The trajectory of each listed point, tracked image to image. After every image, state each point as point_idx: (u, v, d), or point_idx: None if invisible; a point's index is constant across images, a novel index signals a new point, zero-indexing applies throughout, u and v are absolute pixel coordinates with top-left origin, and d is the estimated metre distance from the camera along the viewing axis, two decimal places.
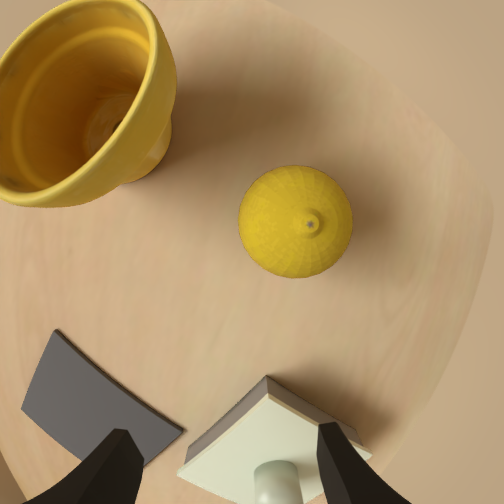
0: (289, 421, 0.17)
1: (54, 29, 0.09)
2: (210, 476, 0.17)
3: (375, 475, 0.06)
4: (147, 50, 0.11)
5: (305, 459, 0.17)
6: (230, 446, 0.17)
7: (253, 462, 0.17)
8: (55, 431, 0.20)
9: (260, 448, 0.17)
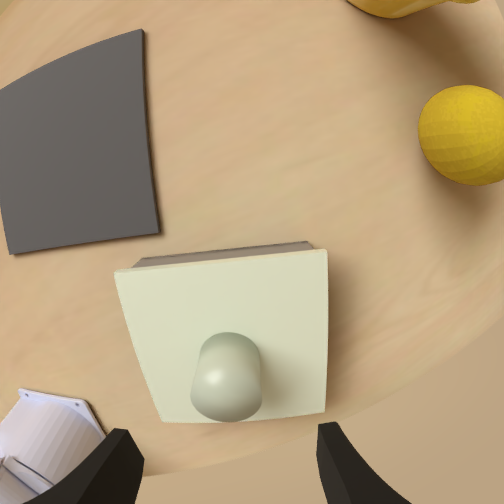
0: (315, 298, 0.15)
1: None
2: (154, 305, 0.15)
3: (375, 475, 0.06)
4: None
5: (275, 363, 0.16)
6: (226, 279, 0.14)
7: (224, 322, 0.15)
8: (7, 138, 0.15)
9: (253, 308, 0.15)
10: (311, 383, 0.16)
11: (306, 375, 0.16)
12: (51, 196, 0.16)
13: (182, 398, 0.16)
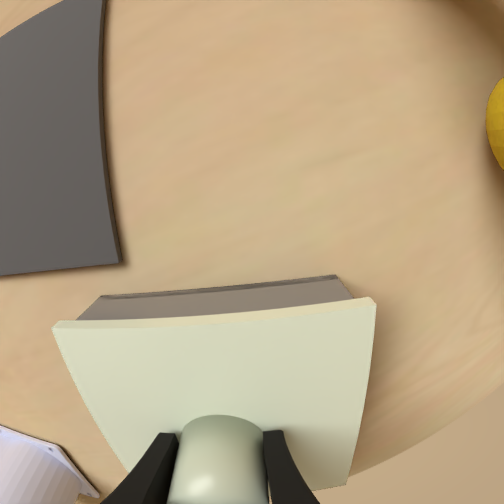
0: (351, 370, 0.09)
1: None
2: (110, 375, 0.09)
3: (306, 490, 0.06)
4: None
5: None
6: (214, 349, 0.09)
7: (214, 404, 0.09)
8: None
9: (257, 387, 0.09)
10: (332, 462, 0.10)
11: (328, 455, 0.10)
12: None
13: None
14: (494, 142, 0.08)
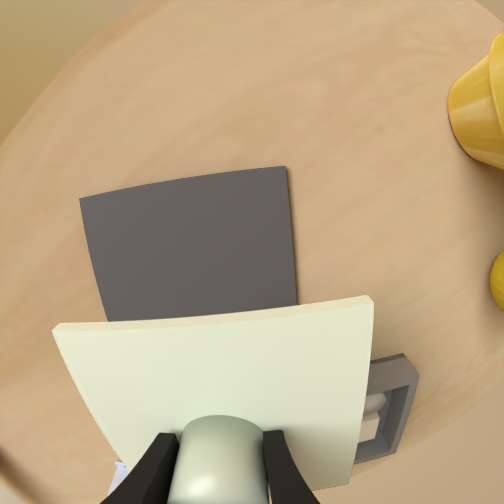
0: (350, 369, 0.09)
1: None
2: (110, 377, 0.09)
3: (306, 490, 0.06)
4: None
5: (288, 446, 0.10)
6: (211, 349, 0.09)
7: (214, 404, 0.09)
8: (112, 262, 0.18)
9: (256, 387, 0.09)
10: (334, 461, 0.10)
11: (329, 454, 0.10)
12: None
13: None
14: (491, 288, 0.17)
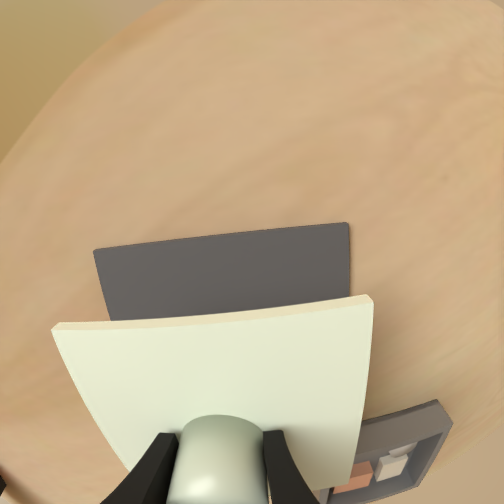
0: (349, 369, 0.09)
1: None
2: (110, 376, 0.09)
3: (306, 490, 0.06)
4: None
5: (288, 445, 0.10)
6: (211, 348, 0.09)
7: (213, 403, 0.09)
8: None
9: (255, 387, 0.09)
10: (334, 461, 0.10)
11: (329, 454, 0.10)
12: None
13: None
14: None
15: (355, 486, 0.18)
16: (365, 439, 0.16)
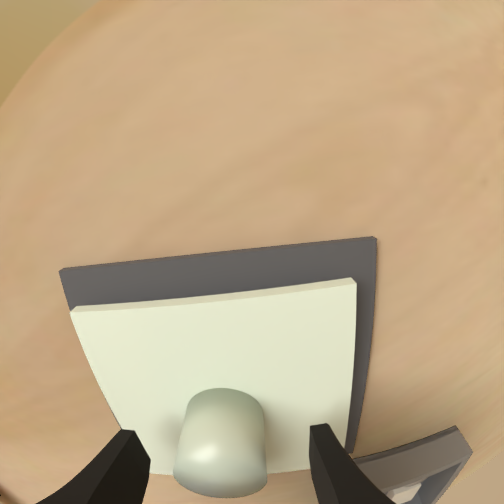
0: (337, 344, 0.10)
1: None
2: (123, 354, 0.10)
3: (365, 478, 0.06)
4: None
5: (284, 419, 0.11)
6: (215, 324, 0.10)
7: (216, 377, 0.11)
8: None
9: (253, 360, 0.10)
10: None
11: None
12: None
13: (170, 453, 0.12)
14: None
15: None
16: (379, 475, 0.13)
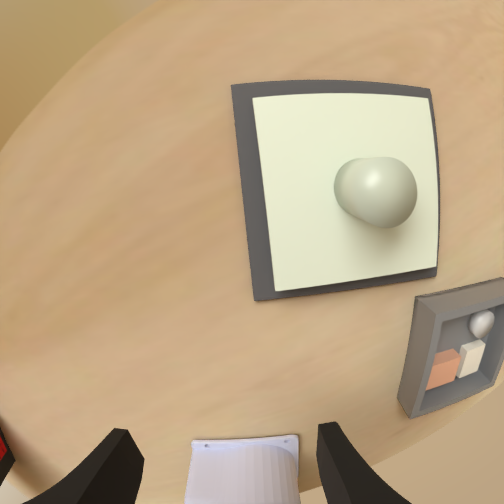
0: (424, 134, 0.14)
1: None
2: (293, 128, 0.14)
3: (375, 475, 0.06)
4: None
5: None
6: (359, 107, 0.14)
7: (358, 148, 0.15)
8: None
9: (381, 136, 0.15)
10: (426, 225, 0.16)
11: (423, 214, 0.16)
12: None
13: (307, 247, 0.16)
14: None
15: (444, 379, 0.19)
16: (460, 299, 0.17)
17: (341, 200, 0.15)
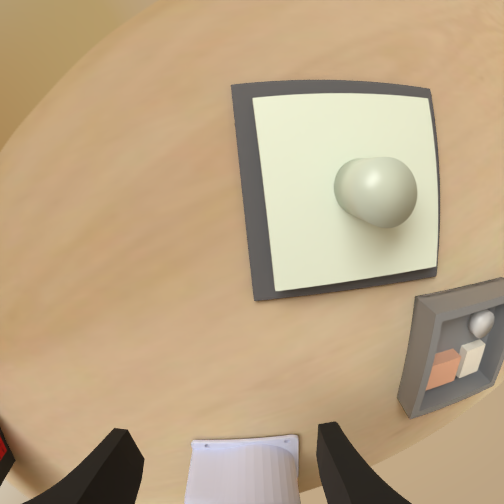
0: (424, 134, 0.14)
1: None
2: (293, 128, 0.14)
3: (375, 475, 0.06)
4: None
5: None
6: (359, 107, 0.14)
7: (358, 148, 0.15)
8: None
9: (381, 136, 0.15)
10: (426, 225, 0.16)
11: (423, 214, 0.16)
12: None
13: (307, 247, 0.16)
14: None
15: (444, 379, 0.19)
16: (460, 299, 0.17)
17: (341, 200, 0.15)
